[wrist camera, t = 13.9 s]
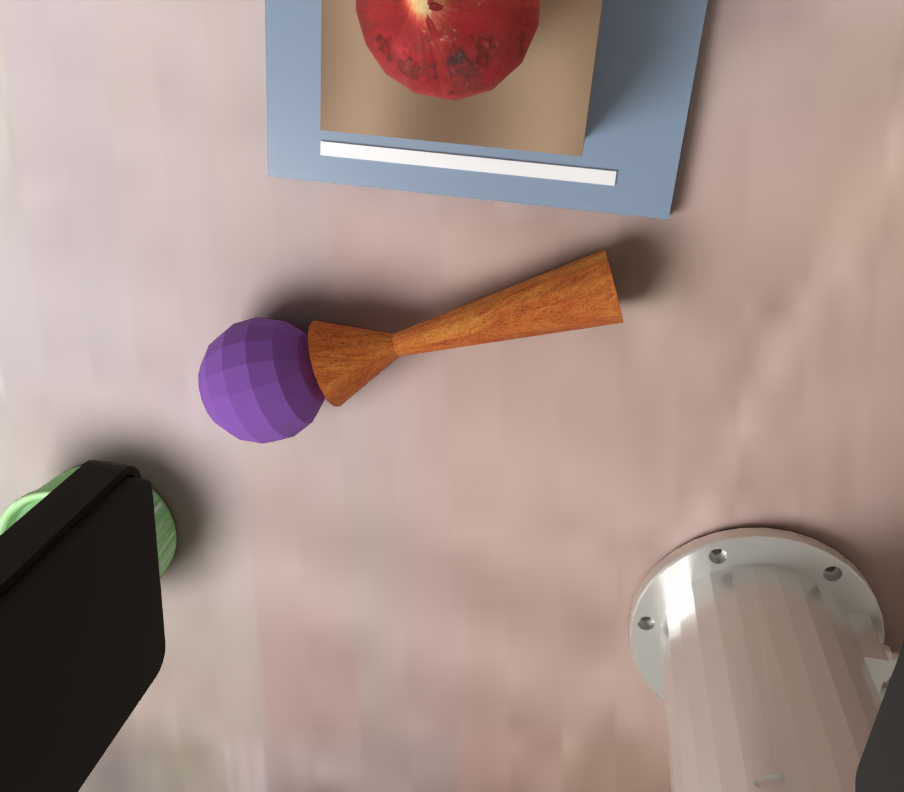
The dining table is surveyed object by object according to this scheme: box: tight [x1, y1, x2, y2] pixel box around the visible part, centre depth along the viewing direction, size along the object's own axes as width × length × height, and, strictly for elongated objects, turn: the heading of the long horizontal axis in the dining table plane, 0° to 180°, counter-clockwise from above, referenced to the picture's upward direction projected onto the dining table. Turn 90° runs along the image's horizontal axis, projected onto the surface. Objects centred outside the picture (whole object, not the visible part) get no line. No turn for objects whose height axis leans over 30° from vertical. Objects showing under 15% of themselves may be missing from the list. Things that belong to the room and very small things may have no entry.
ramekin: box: [0, 465, 176, 578], centre depth 48 cm, size 9×9×4 cm
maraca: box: [198, 249, 623, 443], centre depth 40 cm, size 6×6×20 cm
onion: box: [356, 0, 541, 101], centre depth 27 cm, size 6×6×8 cm
